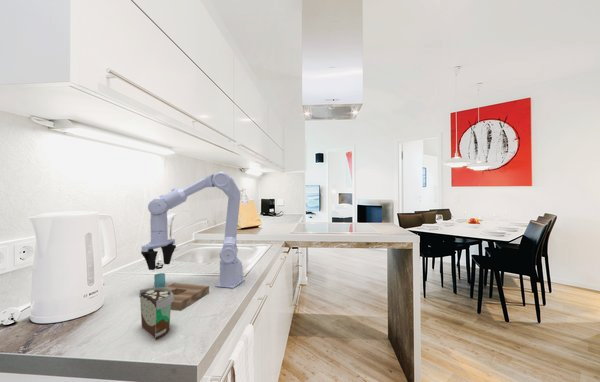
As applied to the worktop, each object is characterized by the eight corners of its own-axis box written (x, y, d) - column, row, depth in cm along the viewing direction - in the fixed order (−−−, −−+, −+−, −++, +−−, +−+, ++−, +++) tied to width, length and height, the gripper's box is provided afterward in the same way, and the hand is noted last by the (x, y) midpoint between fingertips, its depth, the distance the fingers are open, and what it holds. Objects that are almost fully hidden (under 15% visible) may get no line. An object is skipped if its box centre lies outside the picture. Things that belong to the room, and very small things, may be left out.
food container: (182, 332, 72) (182, 294, 72) (157, 342, 67) (157, 301, 67) (163, 318, 80) (162, 283, 80) (139, 326, 75) (139, 289, 75)
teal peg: (159, 287, 106) (159, 272, 106) (167, 287, 105) (167, 273, 105) (152, 290, 103) (152, 275, 102) (160, 291, 102) (160, 276, 102)
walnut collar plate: (174, 289, 103) (174, 282, 103) (209, 292, 99) (209, 285, 99) (141, 305, 89) (141, 297, 89) (180, 310, 85) (180, 302, 85)
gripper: (164, 227, 112) (164, 261, 112) (134, 233, 98) (134, 271, 98) (179, 228, 110) (179, 262, 110) (150, 234, 96) (151, 272, 96)
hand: (159, 266), depth 104 cm, fingers open, 7 cm apart
